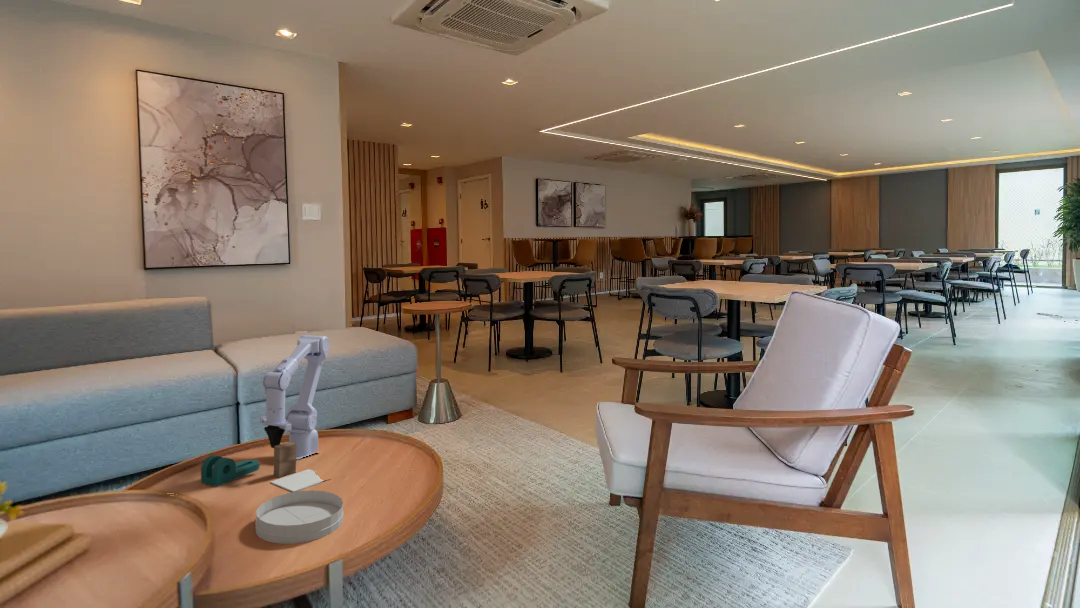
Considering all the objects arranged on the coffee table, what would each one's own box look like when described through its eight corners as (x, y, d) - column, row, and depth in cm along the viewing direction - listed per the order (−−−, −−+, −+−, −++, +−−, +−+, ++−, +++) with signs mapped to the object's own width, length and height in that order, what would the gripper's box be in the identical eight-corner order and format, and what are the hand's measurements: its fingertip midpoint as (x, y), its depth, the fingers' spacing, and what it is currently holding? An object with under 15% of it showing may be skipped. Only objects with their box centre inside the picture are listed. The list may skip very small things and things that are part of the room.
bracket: (217, 487, 174) (217, 462, 173) (201, 483, 176) (201, 458, 175) (263, 468, 191) (263, 445, 190) (248, 464, 193) (248, 442, 192)
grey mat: (309, 470, 190) (309, 469, 190) (332, 478, 184) (332, 477, 184) (270, 482, 178) (270, 481, 178) (293, 492, 172) (293, 491, 172)
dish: (317, 500, 168) (317, 483, 168) (359, 524, 154) (359, 506, 154) (240, 524, 151) (240, 506, 151) (279, 554, 137) (279, 534, 137)
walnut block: (290, 470, 189) (290, 441, 189) (295, 472, 188) (296, 443, 187) (273, 475, 184) (274, 446, 183) (279, 478, 183) (279, 448, 182)
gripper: (251, 405, 188) (251, 445, 189) (277, 413, 180) (277, 455, 181) (271, 402, 194) (270, 440, 195) (297, 409, 186) (296, 449, 187)
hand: (275, 447), depth 188 cm, fingers closed
